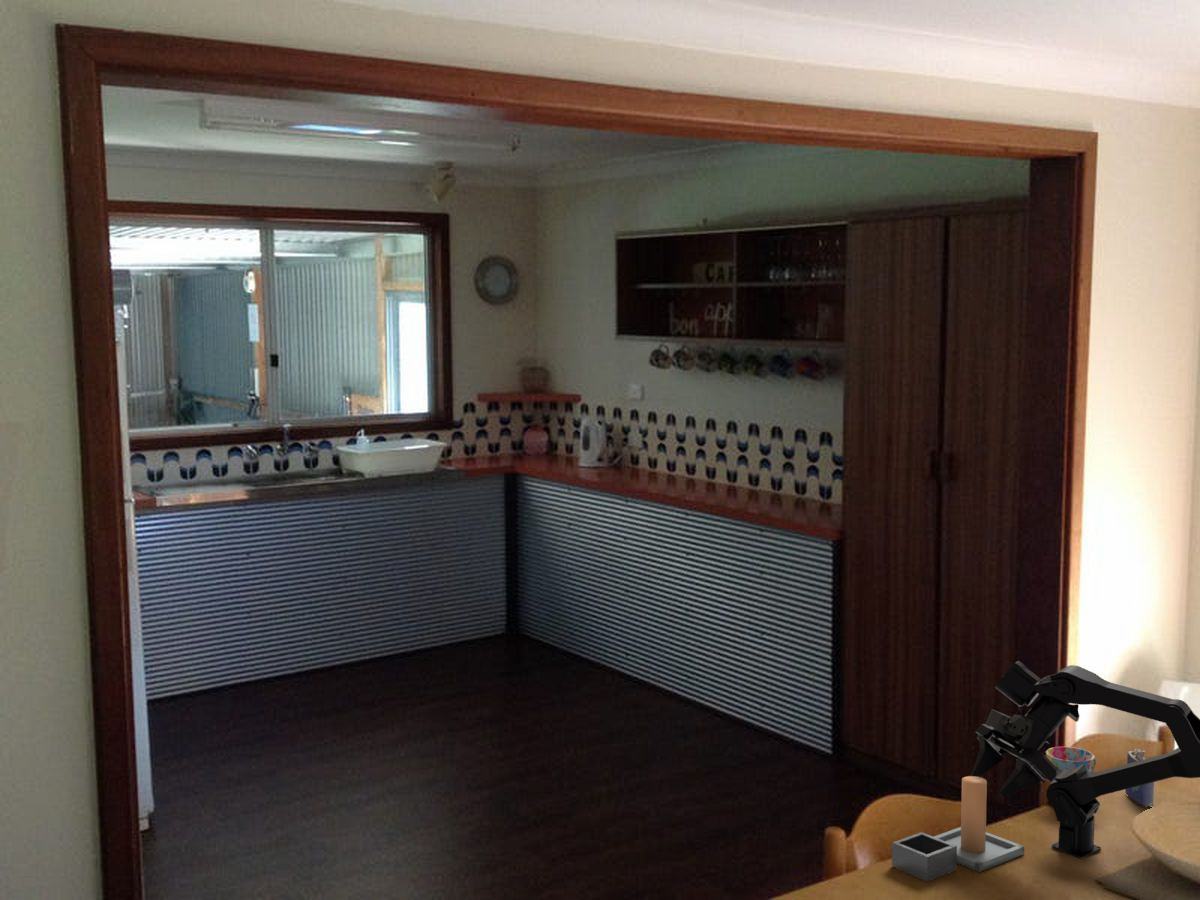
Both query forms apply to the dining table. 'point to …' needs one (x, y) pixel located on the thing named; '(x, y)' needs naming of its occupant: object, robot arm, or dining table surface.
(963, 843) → the peg
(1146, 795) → the flask
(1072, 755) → the mug
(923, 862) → the square socket holder
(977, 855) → the tray
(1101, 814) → the dining table surface
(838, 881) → the dining table surface
